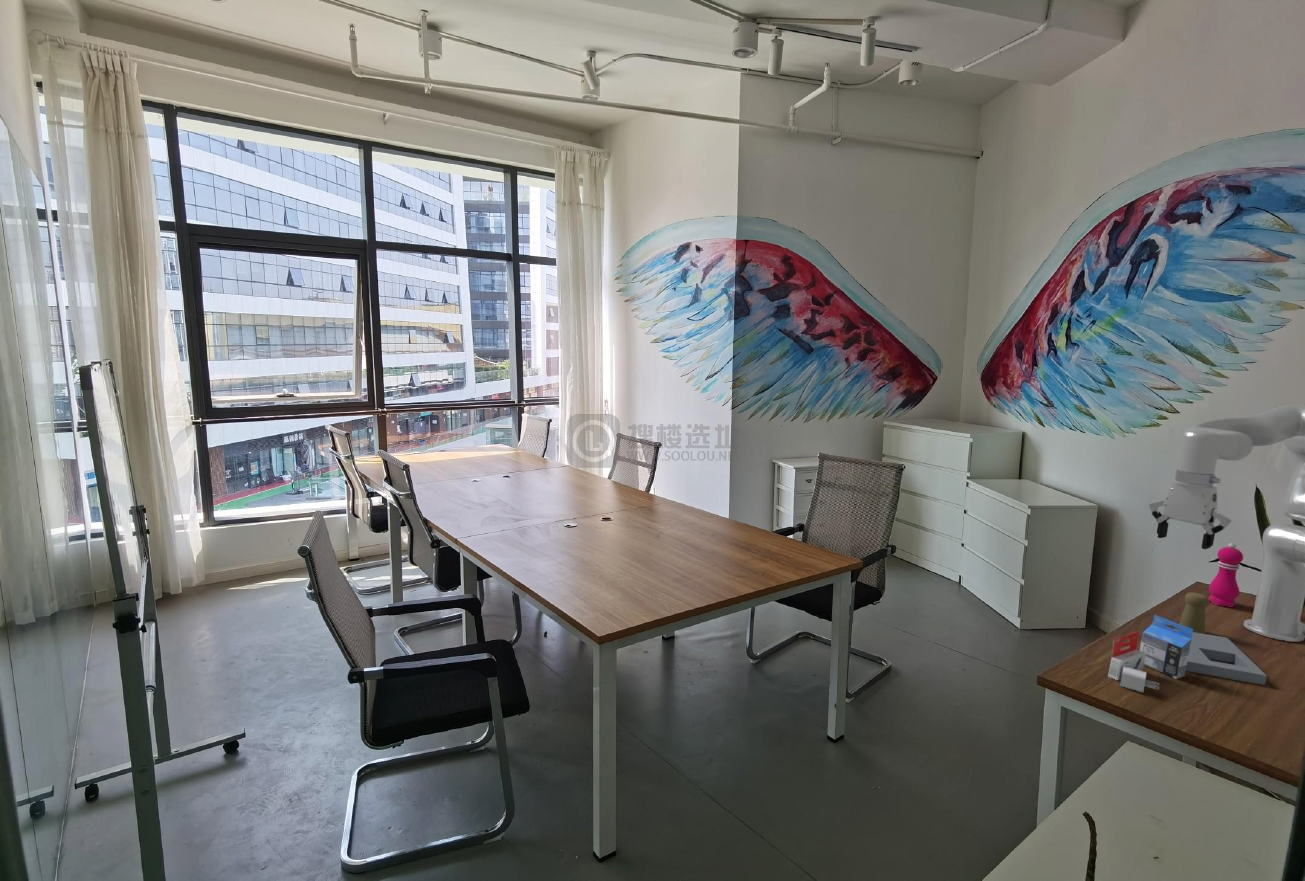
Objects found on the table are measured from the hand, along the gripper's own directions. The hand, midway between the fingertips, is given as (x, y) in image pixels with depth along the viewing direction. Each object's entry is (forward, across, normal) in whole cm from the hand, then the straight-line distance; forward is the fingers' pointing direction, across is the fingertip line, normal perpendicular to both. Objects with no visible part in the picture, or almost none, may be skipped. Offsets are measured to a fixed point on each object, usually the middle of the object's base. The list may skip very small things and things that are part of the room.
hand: (1183, 542), depth 168 cm
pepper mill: (+29, +8, -53) cm, 61 cm away
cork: (+29, +2, -19) cm, 35 cm away
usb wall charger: (+29, -9, +32) cm, 44 cm away
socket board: (+29, -8, -2) cm, 30 cm away
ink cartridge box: (+29, -4, +27) cm, 40 cm away
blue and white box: (+29, -6, +16) cm, 34 cm away
